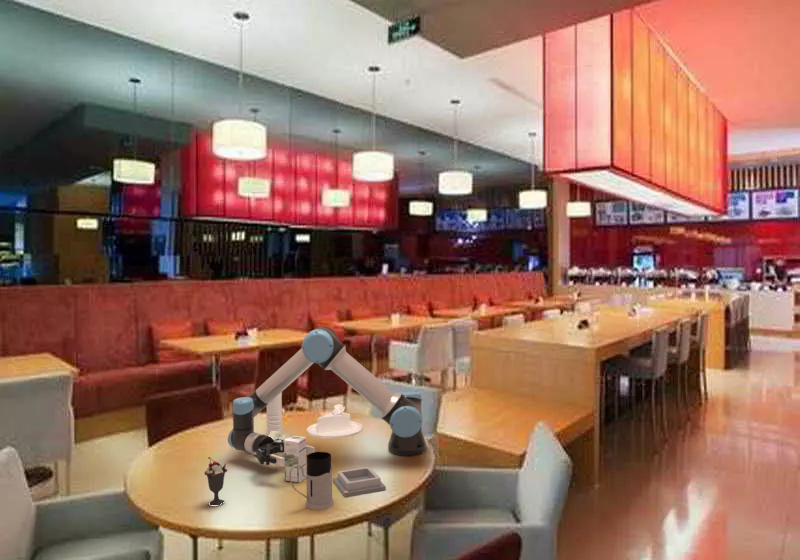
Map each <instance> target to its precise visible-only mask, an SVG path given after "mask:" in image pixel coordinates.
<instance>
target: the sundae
mask: <svg viewBox="0 0 800 560" xmlns="http://www.w3.org/2000/svg"><path fill="white" fill-rule="evenodd" d="M207 459H209V460H210V462H209V463H208V467H207V468H206V470H205V471H204V476H206V477H207V483H208V488H209V490H210V491H211V492H212V493H213V495H214V496H213V500H211V502H210V501H209V502H210V505H220V504H221V503H223V502H224V501H225V500H223V499H220V498H219V493H220V491H222V489H223V488H224V482H225V481H224V480H225V474H226V473H227V471H228V469H227V468H226V466H227V463H224V465H223V464H222V463H220V462H218V461H215V460H212V458H211V456H208V457H207ZM212 461H213V462H212ZM220 506H221V505H220Z"/></svg>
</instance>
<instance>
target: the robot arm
mask: <svg viewBox="0 0 800 560" xmlns="http://www.w3.org/2000/svg"><path fill="white" fill-rule="evenodd" d="M346 348H347V346H346V345H345V344H344V343H342V341H340V340H339V336H338V334H337V333H336V331H335V330H334V329H333V328H331V327H329V326H323V325H322V326H318V327H316V328H314V329H313V330H310V331H309V332H307V334H306V336H305V337H304V338H303V340H302V345H301V348H300V349H299V350H298V351H297V352H296V353H294V355H293V356H292V357H290V358H289V359H288V360H287V361H286V362H285V363H284V364H283V365H282V366H280V367H279V368H278V369H277V370H276V371H275V372H273V374H272V375H271V376H270V377H269V378H267V379H266V380H265V381H264V382H263V383H262V384H261V385H260V386H258V388H256V390H254V391H253V392H252V393H251V394H249V396H243V397H242V396H241V397H237V398H235V399H233V400H232V426H233V427H232V429H231V430H230V431H229V433H228V436H227V443H228V445H229V446H230V447H231V448H233V449H235V450H237V451H242V452H246V453H249V454H252V455H253V457H254V458H256V460H257V461H258V462H259V464H260V465H264V464H265V465H266V466H270V464H273V465H277V466H280V467H284V468H285V458H284V457H282V456H280V455H275V454H278V453H279V454H281V453H283V454H284V440H285V439H280V440H281V441H275V440H273V439H272V438H271V437H269V436H267V434H266V435H265V434H262V433H258V432H255V429H254V427H255V424H254V423H255V421H254V420H255V417H256V416H257V415H258V414H259V413H260V412H262V411H263V410H264V409H265V408H267V405H268V404H269V403H270V402H271V401H272V400H273V399H274V398H275V397H277V396H278V395H279V394H280V393H281V392H282V393H283V392H284V390H286V389H287V388H288V387H289V386H291V384H292V383H294V382H295V380H297V379H298V378H299V377H300V376H302V374H303V373H305V371H307V370H308V369H309V368H310V367H311V366H312V365H313V364H317V365H318V366H319V367H320V368H322V369H323V370H324V371H329V370H330V371H332V372H333V374H336V375H337V376H338V377H339V378H341V380H343V381H344V382H345V383H346V384H347V385H349V386H350V387H351V388H352V389H353V390H354V391H356V393H358V395H360V396H362V397H363V398H364V399H365V400H366V401H367V402H369V404H371V405H372V407H374V408H376V409H377V410H378V411H379V413H380V419H382V420H383V421H384V422H386V423H387V424H388V425H389V426H390V429H391V435H390V437H389V442H388V444H387V451H388V450H389V451H388V452H389V453H390V452H391V453H390V454H392V453H393V454H392V455H395V454H396V455H397V456H401V455H404V456H405V457H406V456H408V457H409V456H410V455H413V456H417V455H421V454H424V453H425V452H426V451H427V443H426V442H427V441H426V440H425V436H424V434H423V429H422V427H423V426H422V425H423V414H422V400H423V399H422V394H421V393H420V392H418V391H396V392H394V391H393V390H391V389H390V388H389V387H388V386H387V385H385V384H384V382H382V381H381V380H380V379H379V378H378V377H377V376H375V375H374V374H373V373H372V372H370V371H369V370H368V369H367V368H365V367H364V366H363V365H362V364H361V363H360V362H358V360H357V359H355V358H354V357H353V356H352V355H350V354H349V353H348V352H347V349H346ZM315 449H316V447H314V446H311V445H309V444H308V445H307V444H306V455H308V454H310V453H313V452H316V451H315ZM396 455H395V456H396ZM404 456H403V457H404Z"/></svg>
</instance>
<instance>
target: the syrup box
mask: <svg viewBox="0 0 800 560" xmlns="http://www.w3.org/2000/svg"><path fill="white" fill-rule="evenodd" d="M283 440H284V452H283V455H284V456H283V458H285V466H284V481H285V482H289V481H290V478H289V472H290V469H291V468H292V467H293V466H294V465H300V466H302V468H303V471H304V476H306V472H307V454H306V445H307V437H306V436H298V435H289V436H287V438H284V439H283ZM305 479H306V477H303V476H302V470H301V468H300V467H299V466H296V467H294V468H293V469H292V471H291V480H292V483H297V484H300V483H302V481H304V480H305Z"/></svg>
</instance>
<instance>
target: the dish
mask: <svg viewBox="0 0 800 560" xmlns="http://www.w3.org/2000/svg"><path fill="white" fill-rule="evenodd" d="M333 408H334V409H333V410H332V411H330V412H329V413H328V412H327V413H326V414H323V415H321V416H319V417H317V422H315V423H312V424H311V425H309V426H307V428H306V433H307V434H308V436H311V437H314V438H318V439H323V440H324V439H329V440H331V439H332V440H333V439H344V438H349V436H350V437H353V435H354V436H356V434H357V435H359V434H360V433H361V432H363V429H362V428H363V425H362V424H361V423H359V422H357V421H353V420H351V414H349V413H347V412H345V409H346V405H345V406H344V405H342V403H338V404H335V405H333Z"/></svg>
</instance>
